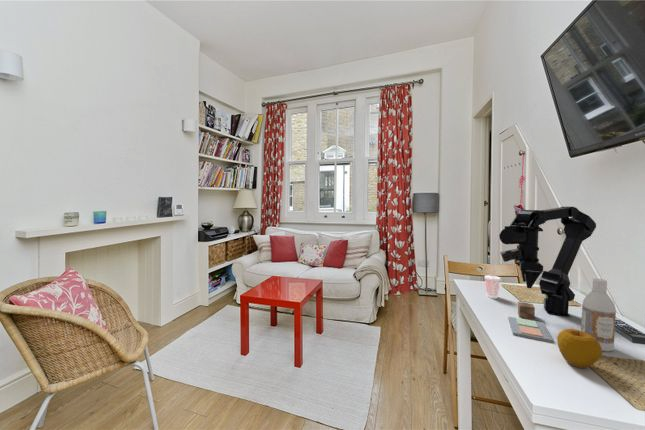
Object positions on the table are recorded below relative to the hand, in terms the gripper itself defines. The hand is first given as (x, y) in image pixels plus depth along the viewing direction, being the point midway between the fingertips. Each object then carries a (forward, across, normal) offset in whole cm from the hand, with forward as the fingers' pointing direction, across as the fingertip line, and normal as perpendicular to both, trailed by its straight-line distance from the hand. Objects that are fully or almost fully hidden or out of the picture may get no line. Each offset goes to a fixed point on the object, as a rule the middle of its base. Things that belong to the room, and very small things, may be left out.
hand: (526, 284), depth 102 cm
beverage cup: (+12, -19, -10) cm, 25 cm away
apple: (+12, +31, +7) cm, 34 cm away
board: (+12, +13, -1) cm, 18 cm away
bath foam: (+12, +16, +15) cm, 25 cm away
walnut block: (+12, 0, 0) cm, 12 cm away
